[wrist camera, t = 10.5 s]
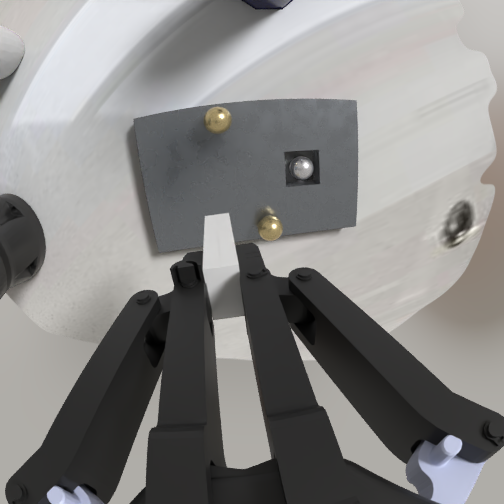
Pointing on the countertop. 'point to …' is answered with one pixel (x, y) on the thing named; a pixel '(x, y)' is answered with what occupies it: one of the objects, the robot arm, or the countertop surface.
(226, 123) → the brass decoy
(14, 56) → the mug
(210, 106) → the plate
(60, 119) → the countertop surface
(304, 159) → the steel ball
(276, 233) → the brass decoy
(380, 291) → the countertop surface
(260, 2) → the bottle
